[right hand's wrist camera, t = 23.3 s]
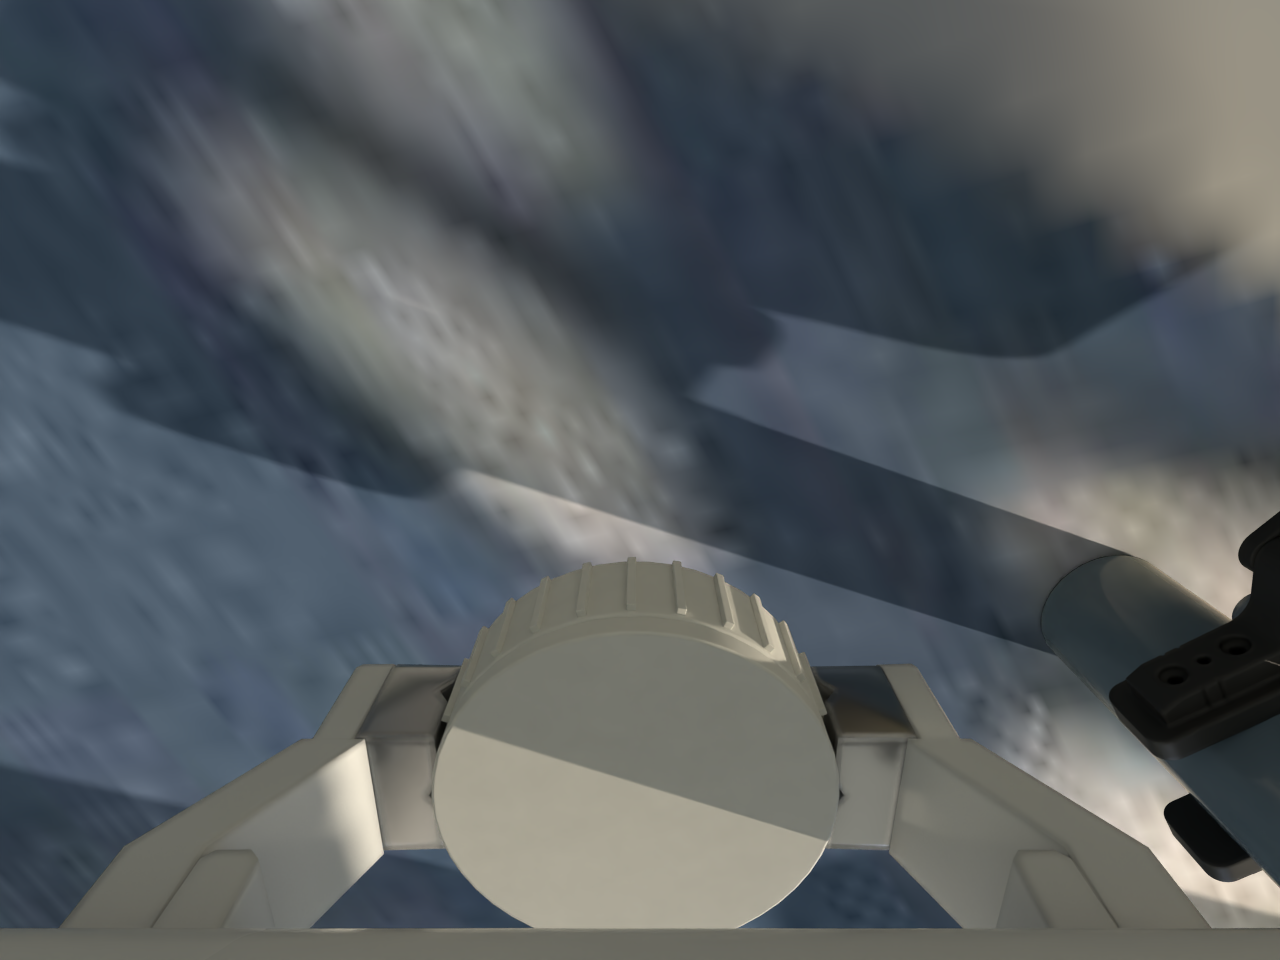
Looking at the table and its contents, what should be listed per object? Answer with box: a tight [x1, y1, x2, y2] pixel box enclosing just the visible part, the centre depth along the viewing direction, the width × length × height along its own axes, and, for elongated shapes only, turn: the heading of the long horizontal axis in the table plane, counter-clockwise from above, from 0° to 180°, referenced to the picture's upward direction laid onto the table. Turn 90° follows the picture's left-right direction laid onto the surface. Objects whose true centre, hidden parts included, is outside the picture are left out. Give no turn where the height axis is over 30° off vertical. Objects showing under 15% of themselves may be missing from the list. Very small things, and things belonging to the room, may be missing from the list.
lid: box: [432, 557, 839, 928], centre depth 10 cm, size 5×5×2 cm
